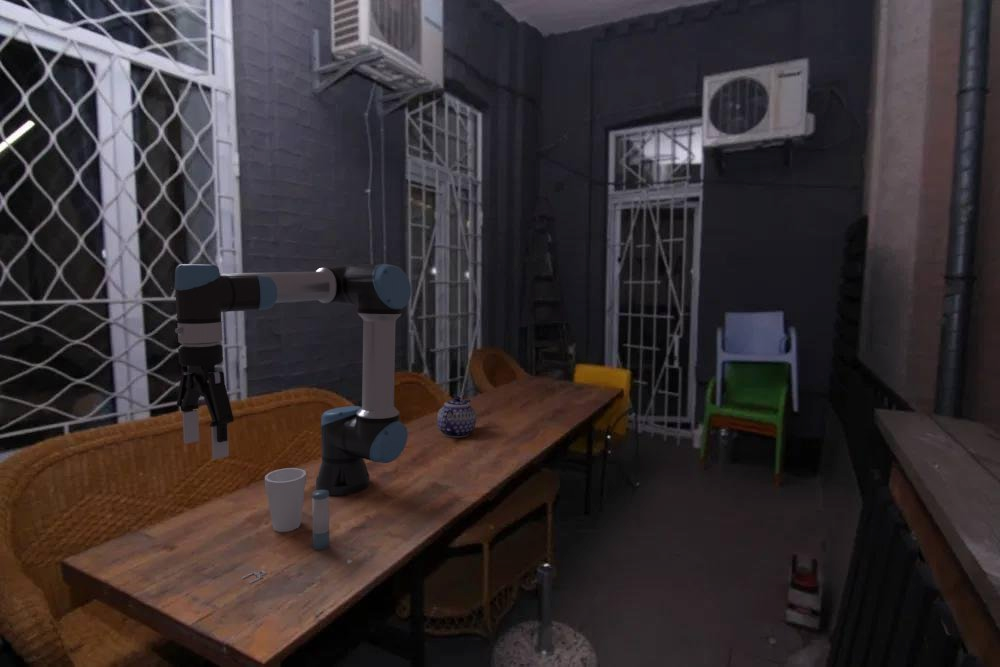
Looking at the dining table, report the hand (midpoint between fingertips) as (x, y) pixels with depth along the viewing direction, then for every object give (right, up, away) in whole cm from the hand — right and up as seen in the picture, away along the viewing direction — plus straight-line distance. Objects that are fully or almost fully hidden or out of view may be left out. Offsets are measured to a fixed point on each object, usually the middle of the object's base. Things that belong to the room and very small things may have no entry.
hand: (205, 449), depth 106 cm
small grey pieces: (+13, -27, +4) cm, 31 cm away
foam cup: (+6, -25, +25) cm, 36 cm away
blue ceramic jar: (+42, -16, +103) cm, 112 cm away
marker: (+18, -26, +16) cm, 35 cm away
